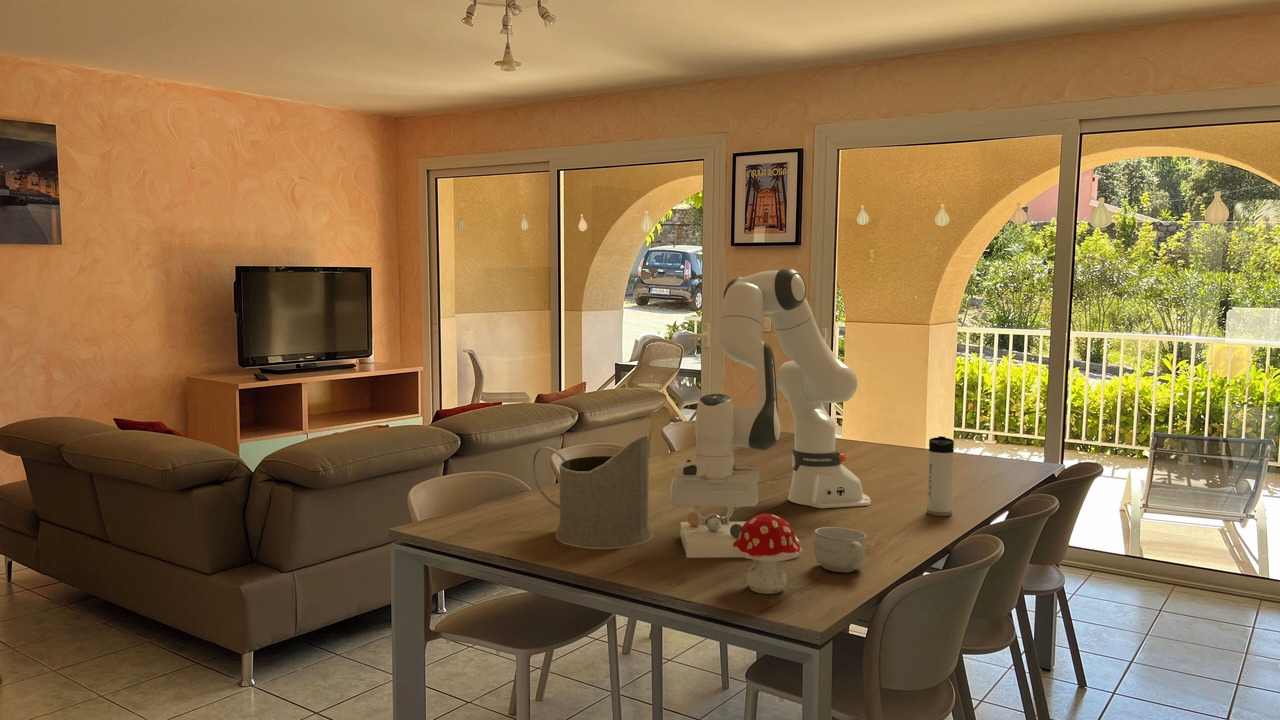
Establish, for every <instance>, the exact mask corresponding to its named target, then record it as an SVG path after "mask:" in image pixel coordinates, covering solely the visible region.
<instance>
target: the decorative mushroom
mask: <svg viewBox="0 0 1280 720" xmlns="http://www.w3.org/2000/svg"><path fill="white" fill-rule="evenodd" d="M745 522H746V523H745V524H744V525H743V526H742V528H741V530H740V533H739V536H738V538H737V540H736V541H735V542H734V543H733V545H732V548H733V550H734V552H735V553H736V554H737V555H740V556H742V557H741V558H745V559H749V560H752V563H751V566H750V568H749V569H748V571H747V574H746V577H745V580H746V583H747V585H748V587H749V588H750V589H751V591H753V592H755V593H757V594H763V595H768V594H770V595H775V594H777V593H781V592H782V591H783V590H784V589H785V587H786V586H787V583H788V578H787V575H786V573H785V570H784V569H783V566H782V563H781V561H782V562H783V561H787V560H791V559H796V558H798V557H797V556H798V555H799V556H800V555H801V554H802V552H803V548H802V547H801V545H800V543H799V544H798V543H797V541H796V538H795V536H796V535H795V531H794V530H793V528H792V527H791V525H790V524H789V523H788V522H787V521H786V520H785V519H784V518H782V517H780V516H777V515H775V514H772V513H762V514H761V513H760V514H757V515H754V516H753V517H751V518H750V519H749V520H747V521H745Z"/></svg>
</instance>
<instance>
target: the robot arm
mask: <svg viewBox="0 0 1280 720" xmlns="http://www.w3.org/2000/svg"><path fill="white" fill-rule="evenodd" d="M806 295H807V287H806V283H805V280H804V278H803V276H802V275H801V274H800V273H799V272H798V271H797V270H796V269H793V268H780V269H778V270H777V269H776V270H773V269H772V270H765V271H760V272H757V273H752V274H749V275H746V276H744V277H742V276H739V277H736V278H734V279H731V280H730V281H729V282H728V283H727V284H726V286H725V289H724V291H723V300H722V303H721V307H720V311H719V314H718V321H717V328H716V342H717V345H718V348H719V349H720V350H721V352H722V353H724V355H726V356H727V357H728V358H729V359H731V360H733V361H735V362H737V363H739V364H742V365H743V366H744V365H745V366H746V367H748V368H751V370H753V371H755V372H756V374H757V375H756V377H757V389H758V390H757V392H758V393H757V394H758V403H757V404H756V405H753V406H745V405H744V406H742V405H734V404H733V402H732V401H733V400H732V399H731V398H732V397H730V396H729V395H727V394H723V393H710V394H706V395H703V396H701V397H700V398H699V399H698V402H697V407H696V414H695V415H696V416H695V427H694V431H695V433H694V435H695V437H696V446H695V449H694V450H695V451H694V456H692V457H689V458H686V459H683V460H679V461H677V462H676V463H675V471H676V473H675V474H673V477H672V479H671V484H670V492H669V502H670V504H671V505H672V506H673V507H674V508H681V507H682V508H688V507H689V508H690V507H691V508H692V507H693V511H695V512H696V514H697V516H698V518H699V526H703V525H706V523H705V522H706V518H707V517H706V516H702V514H701V510H702V507H703V508H704V507H705V508H706V507H710V508H711V507H716V508H717V507H726V509H727V512H726V514H725V515H722V516H721V518H722V521H723V524H722V525H729V522H730V518H731V517H732V515H733V513H734V512H735V507H756V506H757V505H758V503H759V491H758V490H759V489H758V483H759V481H760V471H759V469H758V468H757V467H754V465H750V464H749V465H736V464H734V462H735V461H734V460H735V459H734V457H735V455H734V454H735V453H734V452H735V451H734V447H739V448H749V449H753V450H754V449H755V450H761V451H767V450H768V449H770V448H772V447H773V446H775V445H776V444H777V443H778V442H779V440H780V435H781V423H780V417H779V408H778V395H777V394H778V393H777V387H778V389H779V390H780V392H781V393H782V394H783V396H785V398H786V400H787V402H788V404H789V408H790V411H791V414H792V419H793V424H794V425H793V426H794V430H793V431H794V432H793V433H794V448H793V450H792V455H791V457H792V458H791V466H792V469H793V471H792V478H791V484H790V490H789V493H788V496H787V500H788V501H790V502H791V503H795V504H798V505H803V506H809V507H813V508H818V509H827V508H828V509H829V508H830V509H831V508H845V507H846V508H847V507H864V506H870V505H871V503H872V502H871V501H872V500H871V498H870V497H869V495H867V494H865V493H864V491H863V487H862V483H861V480H860V478H859V477H858V476H856V475H855V474H854V473H853V472H852V471H851V470H849V469H848V468H847V467H846V466H845V465H843V464H842V463H844V462H846V461H848V457H847V455H845V454H844V453H841V452H839V451H837V449H836V423H835V420H834V418H832V417H831V416H830V415H829V414H828V411H826V409H825V406H824V403H827V404H828V403H829V404H833V403H834V404H837V403H843V402H844V403H845V402H849V401H850V400H851V399H852V398H853V397H854V395H855V394H856V391H857V388H858V378H857V374H856V373H855V370H853V369H852V368H851V367H849V366H848V365H846V364H845V363H844V362H842V361H841V359H839V358H838V357H837V355H836V353H834V352H833V351H832V349H831V348H830V346H829V345H828V344H827V343H826V341H825V340H824V337H823V335H822V334H821V331H820V329H819V327H818V324H817V321H816V320H815V316H814V313H813V311H812V308H811V306H810V304H809V302H808V300H807V298H806ZM768 315H769V319H770V322H771V324H772V327H773V331H774V332H775V335H776V337H777V340H778V343H779V345H780V348H781V350H782V352H783V353H784V355H785V356H787V357H788V358H790V359H791V360H789V361H785V362H783V363H782V364H781V365H780V366H779V367H778V370H777V372H776V365H775V357H774V352H773V349H772V347H771V345H770V344H769V343H766V342H765V339H764V337H763V328H764V316H768ZM700 514H701V515H700Z"/></svg>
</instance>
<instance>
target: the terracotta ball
mask: <svg viewBox="0 0 1280 720" xmlns="http://www.w3.org/2000/svg"><path fill="white" fill-rule="evenodd" d="M700 515H701V516H702V514H701V513H700ZM686 518H687V519H686V520H687V521H686V522H688V523H689V524H690V525H692V526H698V525H699V518H698V516H697V514H696V512H695V510H692V511H690V512H689V513H688V515H687V517H686Z"/></svg>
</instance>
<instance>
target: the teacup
mask: <svg viewBox="0 0 1280 720" xmlns="http://www.w3.org/2000/svg"><path fill="white" fill-rule="evenodd" d="M867 538H868V537H867V534H866V533H865V532H862V531H860V530H857V529H851V528H847V527H839V526H838V527H835V526H824V527H823V526H822V527H819V528H816V529H815V530H814V545H813V546H814V549H813V551H814V556H815V560H816V562H817V563H818V564H820V565H821V567H822V568H824V569H825V570H826V571H827V570H828V571H832V572H834V573H835V572H836V573H851V572H854V571H855V570H856V569H858V568H859V567H861V566H862V564H863V563H864V561H865V555H866V542H867Z"/></svg>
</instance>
